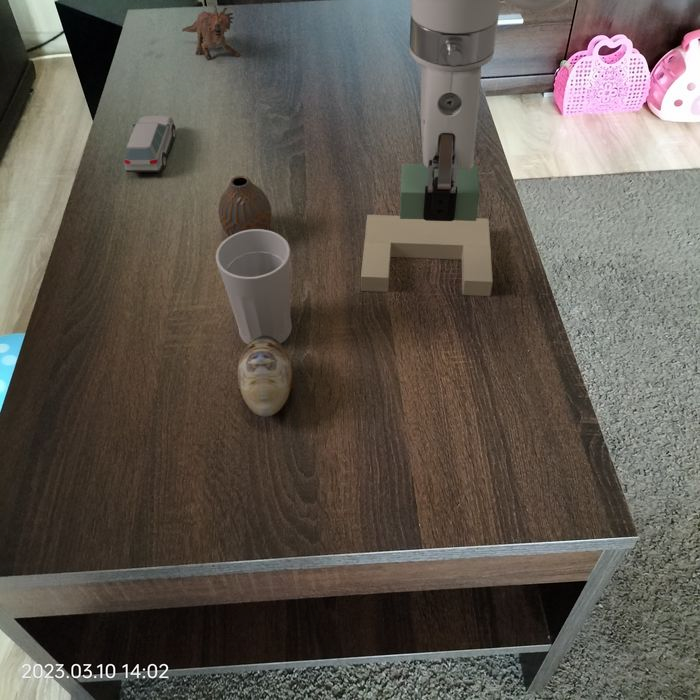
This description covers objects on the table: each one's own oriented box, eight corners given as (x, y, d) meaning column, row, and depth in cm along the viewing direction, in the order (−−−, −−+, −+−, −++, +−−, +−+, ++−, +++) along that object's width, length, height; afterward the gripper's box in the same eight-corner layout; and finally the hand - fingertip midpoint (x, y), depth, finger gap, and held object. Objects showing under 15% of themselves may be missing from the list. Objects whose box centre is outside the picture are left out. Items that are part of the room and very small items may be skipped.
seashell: (295, 429, 77) (288, 382, 71) (241, 433, 77) (230, 386, 71) (293, 361, 84) (287, 313, 78) (244, 364, 83) (233, 316, 77)
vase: (252, 211, 102) (244, 158, 95) (284, 234, 98) (278, 180, 92) (213, 234, 99) (201, 181, 92) (245, 258, 95) (235, 205, 89)
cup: (307, 341, 86) (300, 266, 76) (242, 361, 84) (226, 287, 75) (286, 297, 90) (276, 221, 81) (224, 315, 89) (207, 240, 80)
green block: (474, 191, 79) (477, 164, 77) (476, 221, 76) (479, 194, 73) (401, 190, 80) (402, 162, 77) (399, 219, 77) (400, 191, 74)
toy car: (179, 130, 116) (173, 101, 112) (163, 179, 107) (156, 150, 103) (144, 130, 116) (136, 102, 112) (125, 179, 107) (116, 150, 104)
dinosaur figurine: (250, 60, 130) (243, 7, 123) (223, 71, 127) (214, 19, 120) (207, 34, 137) (198, -17, 130) (180, 45, 134) (170, -7, 127)
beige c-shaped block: (486, 233, 97) (488, 218, 96) (490, 296, 90) (492, 281, 88) (367, 229, 99) (367, 214, 97) (361, 291, 91) (360, 276, 89)
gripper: (501, 86, 58) (476, 256, 72) (490, -7, 69) (471, 156, 83) (407, 84, 59) (400, 254, 72) (411, -8, 70) (405, 154, 83)
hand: (438, 200), depth 77 cm, fingers closed on green block, 5 cm apart
